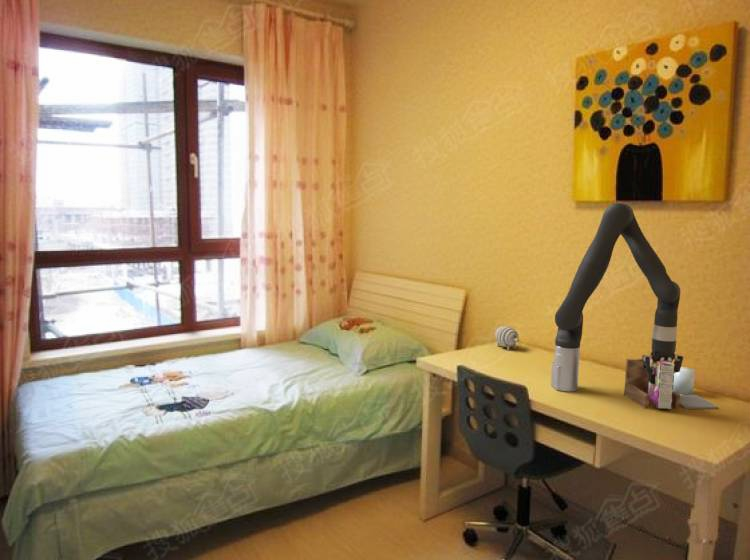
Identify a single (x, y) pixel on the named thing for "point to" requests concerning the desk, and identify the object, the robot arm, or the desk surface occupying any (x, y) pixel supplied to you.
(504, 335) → the toy sheep
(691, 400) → the rubber pad
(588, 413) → the desk surface
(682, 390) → the white rounded cylinder
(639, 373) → the walnut bay
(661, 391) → the candy bar box
